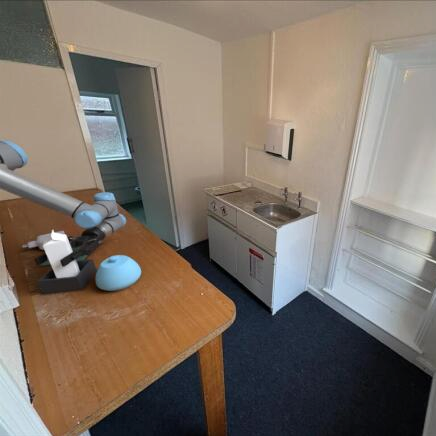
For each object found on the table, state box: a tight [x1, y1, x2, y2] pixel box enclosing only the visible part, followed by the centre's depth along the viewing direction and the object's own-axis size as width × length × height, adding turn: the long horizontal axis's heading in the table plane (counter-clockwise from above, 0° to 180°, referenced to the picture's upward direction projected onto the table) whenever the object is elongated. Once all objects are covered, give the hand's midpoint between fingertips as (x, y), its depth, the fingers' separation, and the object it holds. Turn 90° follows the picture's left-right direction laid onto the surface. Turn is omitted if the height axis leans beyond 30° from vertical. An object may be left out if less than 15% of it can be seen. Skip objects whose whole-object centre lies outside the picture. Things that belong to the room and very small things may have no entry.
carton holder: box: [36, 258, 98, 295], centre depth 92 cm, size 12×12×6 cm
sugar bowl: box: [95, 254, 142, 292], centre depth 93 cm, size 15×15×12 cm
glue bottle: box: [21, 230, 66, 251], centre depth 114 cm, size 5×9×15 cm
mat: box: [36, 246, 88, 267], centre depth 109 cm, size 16×16×1 cm
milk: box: [43, 229, 80, 278], centre depth 88 cm, size 6×6×22 cm
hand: (49, 262), depth 84 cm, fingers closed on milk, 8 cm apart
